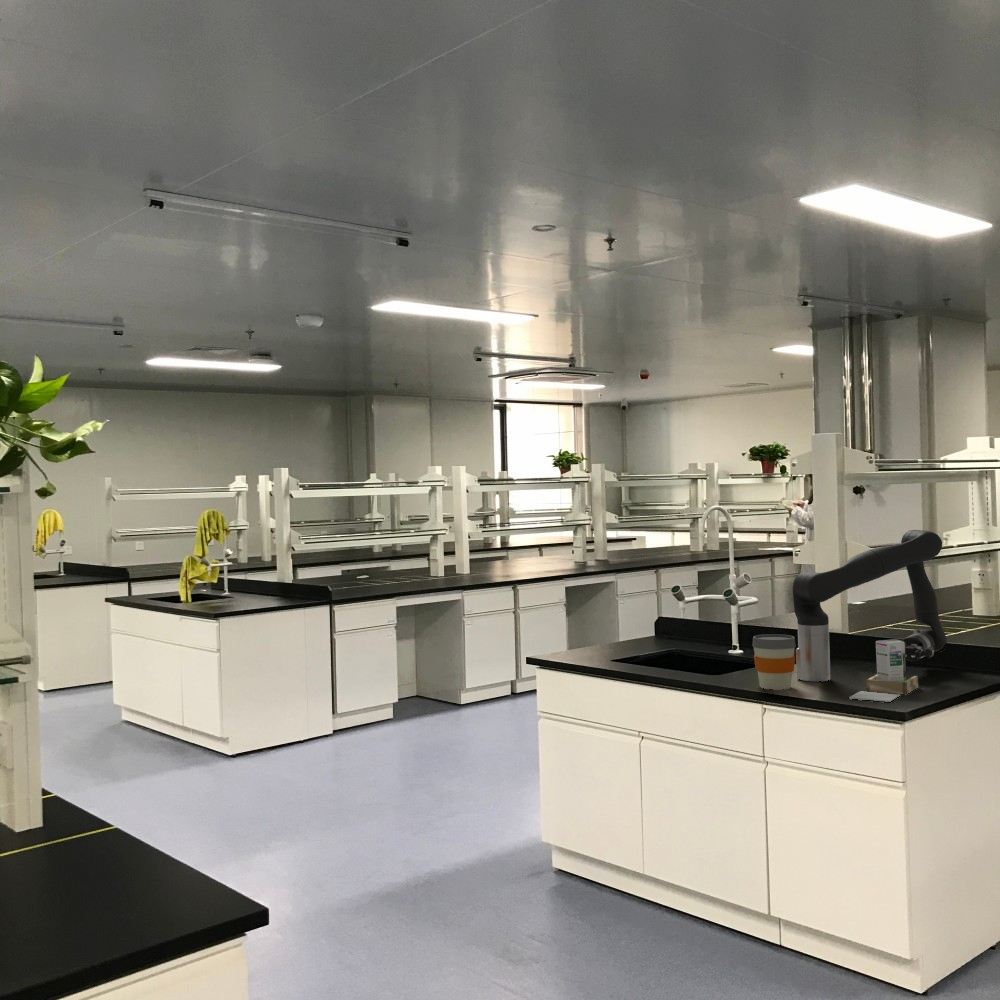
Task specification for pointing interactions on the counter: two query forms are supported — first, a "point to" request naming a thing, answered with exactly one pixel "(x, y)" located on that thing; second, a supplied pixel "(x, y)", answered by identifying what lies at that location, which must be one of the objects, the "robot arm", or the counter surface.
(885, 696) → the grey mat
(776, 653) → the reusable coffee cup
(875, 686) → the maple sleeve
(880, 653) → the syrup box
